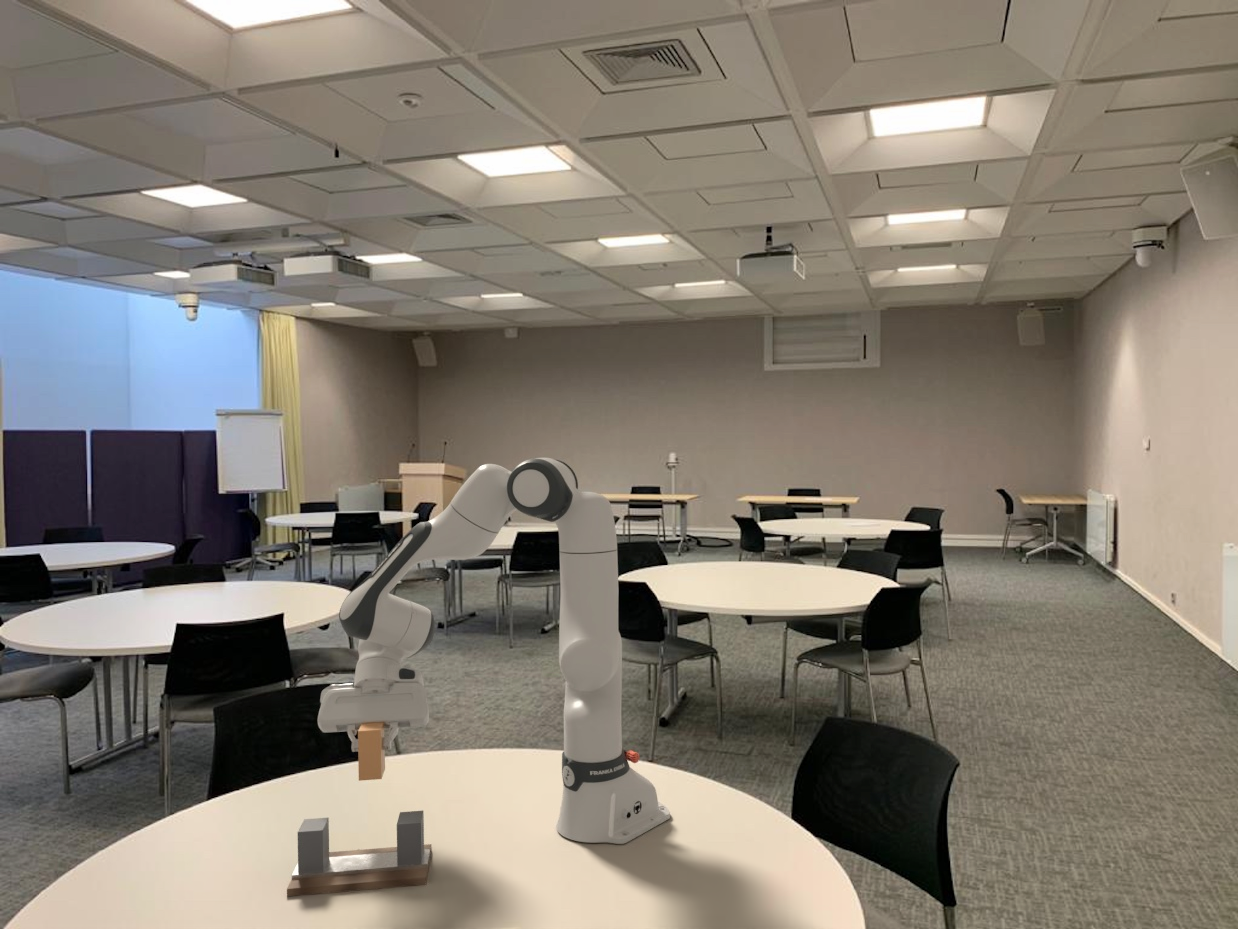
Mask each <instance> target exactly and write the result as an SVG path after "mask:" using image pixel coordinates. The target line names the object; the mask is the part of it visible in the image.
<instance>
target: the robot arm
mask: <svg viewBox="0 0 1238 929" xmlns="http://www.w3.org/2000/svg"><path fill="white" fill-rule="evenodd" d="M576 475H577V474H576V473H575V471H574V470H573V468H571V467H570V466H569V465H568V464H567V463H566V462H564V461H561V460H559V459H554V458H550V457H536V458H530V459H526V460H524V461H522V462H519V464H518V465H516V466H515V468H513V470H512V471H511V470H509V469H507V468H506V467H503V466H501V465H499V464H494V463H485V464H482V465H480V466H478V467H477V469H475V471H473V473H472V474H471V475H470V476H468V478H467V479H466V480H465V482H464V483H463V484H462V485H461V486H460V488H459V489H458V491H457V492H456V493H455V494H454V496H453V497H452V499H451V501H450V502H449V504H448V506H446V508H445V509H444V510H443V511H442V512H440V513H439V514H438V515H436V516H435V517H433V518H432V519H429V520H428V521H420V522H419V523H417V524H416V525H415V526H413V527H412V528H411V529H410V530H409V531H408V532H407V533H406V534H405V535H404V536H403V537H402V538H401V539H400V540H399V541H398V542H397V543H396V544H395V546H394V547H393V548H392V549H391V550H390V552H388V553H387V555H386V556H385V557H384V558H383V559H382V560H381V562H380V563H378V565H376V567H375V568H374V569H373V570H372V571H371V573H370V574H369V575H368V576H367V577H366V578H365V579H364V580H363V581H361V582H360V583H359V584H358V585H357V586H356V587H354V589H352V590H351V591H350V592H349V593H348V594H347V596H346V597H345V598H344V600H343V602H342V604H341V606H340V609H339V614H338V618H339V622H340V624H341V627H342V629H343V631H344V632H345V633H346V635H347V637H349V638H350V637H351V638H353V639H357V640H358V639H359V640H358V644H357V645H358V646H357V652H358V660H357V662H356V666H355V673H354V682H353V683H351V682H350V683H342V684H337V683H334V684H333V683H332V684H330V685H329V686H327V687H325V688H324V689H323V690H322V691H321V693H320V699H319V703H320V706H319V707H320V708H319V711H318V715H317V720H316V721H317V726H318V728H319V729H320V731H321V733H340V732H346V733H347V735H348V738H349V740H350V741H351V747H350V748H351V752H352V753H354V752H355V753H356V752H358V738H356V737H355V736H356V735H357V734H358V730H359V728H360V726H361V724H364V723H381V722H384V730H390V732H388V733H389V734H388V735H387V736H385V737H383V740H382V741H383V743H382V748H383V750H385V751H390V750H392V742H393V741H394V740H395V738H396V737H397V736H398V734H399V730H400V729H404V728H423V727H425V726H427V724H428V723H429V722H430V711H429V701H428V694H427V691H426V688H425V681H424V677H423V674H422V671H420V670H418V669H414V668H408V667H406V666H402V663H403V661H404V659H409V658H411V657H413V656H415V655H417V654H419V653H421V652H422V651H424V650H425V649H427V648H428V647H429V646H430V645H431V643H432V641H433V638H434V635H435V629H436V624H435V622H436V621H435V618H434V617H435V616H434V614H433V612H432V610H431V609H430V608H428V607H426V606H424V605H422V604H420V603H417V602H413V601H412V600H408V599H405V598H403V597H400V596H397V595H395V594H391V591H392V590H393V589H394V588H395V587H396V586H397V584H399V582H400V581H401V580H402V579H403V578H404V577H405V576H406V574H407V573H408V572H409V571H410V570H411V569H412V568H413V567H414V566H416V565H418V564H420V563H422V562H427V561H431V560H432V561H433V560H434V561H435V560H450V561H451V560H454V561H463V560H469V559H470V560H471V559H472V558H473V559H474V558H476V557H478V556H481V555H482V554H484V552H486V551H487V549H488V548H490V546H491V545H492V544H493V542H494V540H495V539H496V537H497V536H498V534H499V533H500V532H501V530H502V528H503V527H504V525H505V523H506V522H507V521H508V519H509V517H510V516H511V515H512V514H514V512H516V511H517V510H518V512H520V513H522V514H524V515H526V516H529V517H533V518H536V519H540V520H542V521H543V520H544V521H547V522H550V523H553V522H554V523H555V525H556V527H557V531H558V544H559V545H558V546H559V547H558V548H559V575H560V576H559V580H560V584H559V585H560V599H559V600H560V601H559V602H560V603H559V604H560V605H559V627H558V629H559V630H558V632H559V634H558V645H559V646H558V662H559V668H560V671H561V675H562V677H563V678H564V680H565V684H564V685H565V687H564V689H565V691H564V705H563V751H562V754H561V775H562V777H561V778H562V782H563V784H562V785H563V787H562V788H563V789H562V799H561V806H560V810H559V815H558V819H557V822H556V831H557V832H558V833H559V834H560V835H561V836H563V837H564V838H566V839H569V840H572V841H576V842H580V843H590V844H591V843H595V844H597V843H607V844H615V845H616V844H617V845H624V844H626V843H629V842H631V841H632V840H633V839H635V838H637V837H639V836H641V835H643V834H644V833H646V832H649V830H651V829H654V828H655V827H657V826H659V825H660V824H663V823H664V822H666V821H667V820H669V819H670V818H671V813H670V810H669V808H668V807H667V806H665V805H664V804H663V803H661V802H660V801H659V800H658V799H659V798H658V794H657V790H656V787H655V786H654V784H653V783H652V782H651V781H650V780H649V779H647V778H646V777H645V776H643V775H642V774H640V773H639V772H637V771H636V770H635V769H634V768H632V767H631V766H630V764H629V762H631V763H633V764H636V763H639V760H640V754H639V752H637V751H634V750H628V751H627V749H624V748H623V742H622V741H623V740H622V738H623V736H622V735H623V734H622V724H623V723H622V698H623V697H622V696H623V695H622V693H623V692H622V690H623V689H622V688H623V686H622V685H623V641H622V637H621V636H622V635H621V633H620V630H619V588H620V587H619V564H618V561H619V560H618V558H619V557H618V540H617V531H616V530H617V528H616V522H615V517H614V511H613V509H612V508H613V507H612V505H611V502H610V501H609V499H608V498H607V497H606V496H604V495H602V494H601V493H598V492H594V491H583V490H579V482H578V478H577V476H576Z"/></svg>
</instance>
